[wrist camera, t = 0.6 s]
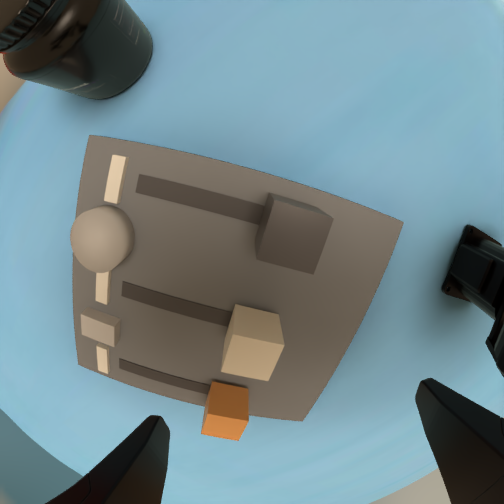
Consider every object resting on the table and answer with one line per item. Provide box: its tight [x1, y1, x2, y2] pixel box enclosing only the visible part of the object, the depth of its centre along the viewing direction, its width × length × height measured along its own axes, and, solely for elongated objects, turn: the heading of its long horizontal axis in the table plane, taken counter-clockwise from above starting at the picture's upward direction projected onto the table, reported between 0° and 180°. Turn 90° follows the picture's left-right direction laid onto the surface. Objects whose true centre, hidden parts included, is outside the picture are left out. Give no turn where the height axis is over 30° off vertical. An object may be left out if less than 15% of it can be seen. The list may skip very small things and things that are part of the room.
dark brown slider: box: [255, 192, 334, 275], centre depth 15 cm, size 3×3×4 cm
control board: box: [70, 135, 404, 421], centre depth 19 cm, size 22×20×4 cm
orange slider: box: [201, 381, 249, 441], centre depth 19 cm, size 3×3×4 cm
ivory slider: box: [221, 304, 284, 381], centre depth 17 cm, size 3×3×4 cm
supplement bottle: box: [0, 0, 152, 99], centre depth 9 cm, size 7×7×12 cm
